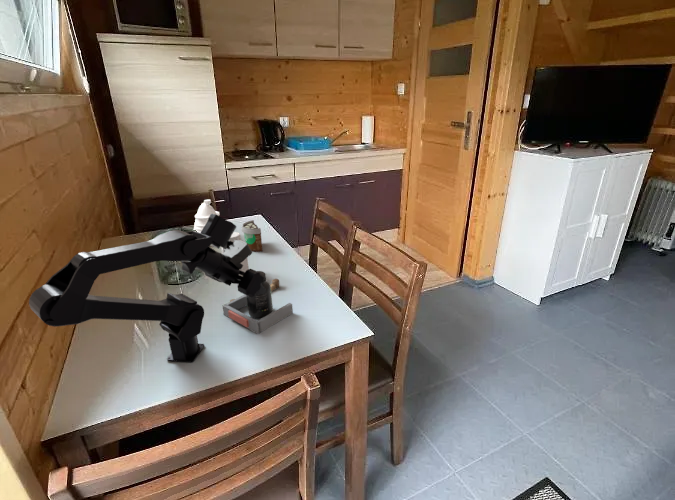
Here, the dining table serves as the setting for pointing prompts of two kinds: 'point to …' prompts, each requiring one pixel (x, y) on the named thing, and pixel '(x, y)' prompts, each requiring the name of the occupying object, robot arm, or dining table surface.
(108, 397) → the dining table surface
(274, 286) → the rail
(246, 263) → the pill bottle
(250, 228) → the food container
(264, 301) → the supplement bottle
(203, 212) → the honey pot
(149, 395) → the dining table surface
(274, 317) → the bay
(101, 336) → the dining table surface
